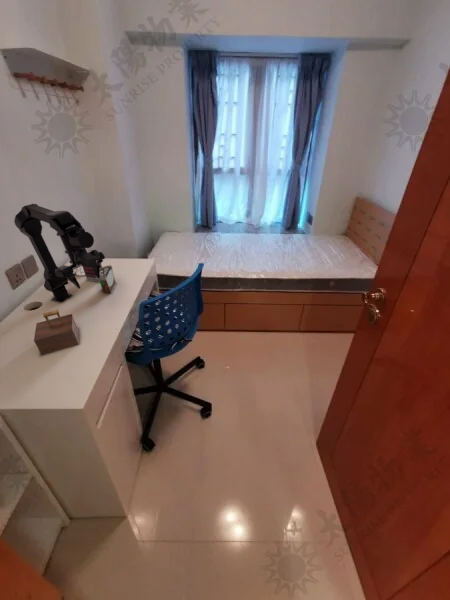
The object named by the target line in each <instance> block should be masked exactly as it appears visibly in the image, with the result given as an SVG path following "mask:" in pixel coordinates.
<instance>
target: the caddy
mask: <svg viewBox="0 0 450 600" xmlns="http://www.w3.org/2000/svg"><path fill="white" fill-rule="evenodd" d="M34 344H35V345H36V348H37V349H38V351H39V353H40V355H41V356H44V355H46V354H50V353H54V352H57V351H61V350H63V349H66V348H71V347H74V346H77V345H79V344H80V342H79V328H78V326H77V323H76V321H75V319H74V317H73V331H71V332H68V333H64V334H61V335H57V336H54V337H50V338H46V339H43V340H39V341H36V342H34Z"/></svg>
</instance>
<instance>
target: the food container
mask: <svg viewBox="0 0 450 600" xmlns="http://www.w3.org/2000/svg"><path fill="white" fill-rule="evenodd" d="M96 278H97V277H96ZM97 279H98V280H99V282H98V283H99V285H100V288H101V289H102V291H103V293H105V294H112V293H113V291H114V289H115V287H116V285H117V283H116V279H115V274H114V271H113V266H112V265H111V264H109V265H104V266H102V268H100V278H97Z"/></svg>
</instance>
